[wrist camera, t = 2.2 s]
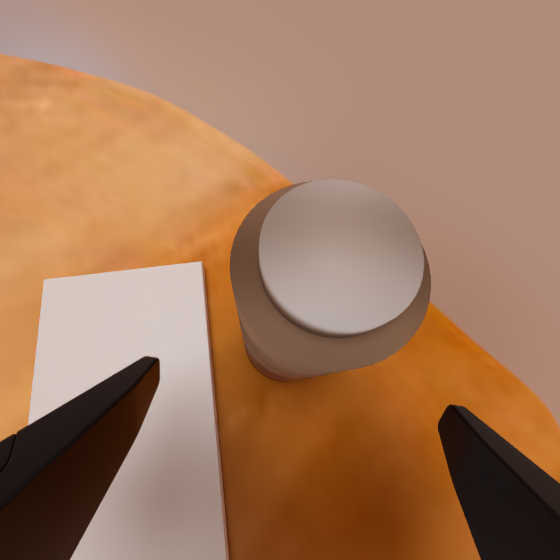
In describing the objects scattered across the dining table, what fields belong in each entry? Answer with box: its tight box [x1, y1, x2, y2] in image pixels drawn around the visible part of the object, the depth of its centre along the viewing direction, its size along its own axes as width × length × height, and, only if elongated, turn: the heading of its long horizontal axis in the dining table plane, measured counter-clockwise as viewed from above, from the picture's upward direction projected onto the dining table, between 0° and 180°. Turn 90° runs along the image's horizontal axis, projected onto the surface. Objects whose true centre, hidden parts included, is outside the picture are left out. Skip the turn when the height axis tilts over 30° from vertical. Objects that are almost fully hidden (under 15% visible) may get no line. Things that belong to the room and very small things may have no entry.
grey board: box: [28, 262, 229, 560], centre depth 16 cm, size 24×10×1 cm, turn 10°
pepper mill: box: [230, 179, 431, 382], centre depth 14 cm, size 6×6×14 cm
